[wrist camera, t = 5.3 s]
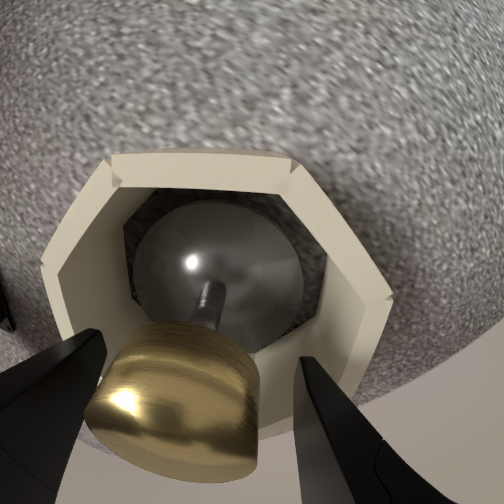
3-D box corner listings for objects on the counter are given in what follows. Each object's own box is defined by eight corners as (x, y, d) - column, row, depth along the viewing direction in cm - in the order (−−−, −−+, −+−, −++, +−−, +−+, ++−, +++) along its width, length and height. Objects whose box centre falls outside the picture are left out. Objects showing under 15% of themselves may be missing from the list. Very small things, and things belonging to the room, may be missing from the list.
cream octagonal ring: (137, 375, 16) (110, 435, 11) (105, 149, 10) (26, 164, 6) (307, 394, 15) (315, 462, 11) (359, 162, 10) (423, 181, 6)
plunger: (149, 334, 13) (87, 464, 6) (135, 195, 10) (-19, 288, 3) (289, 350, 13) (299, 502, 6) (312, 206, 10) (401, 348, 3)
